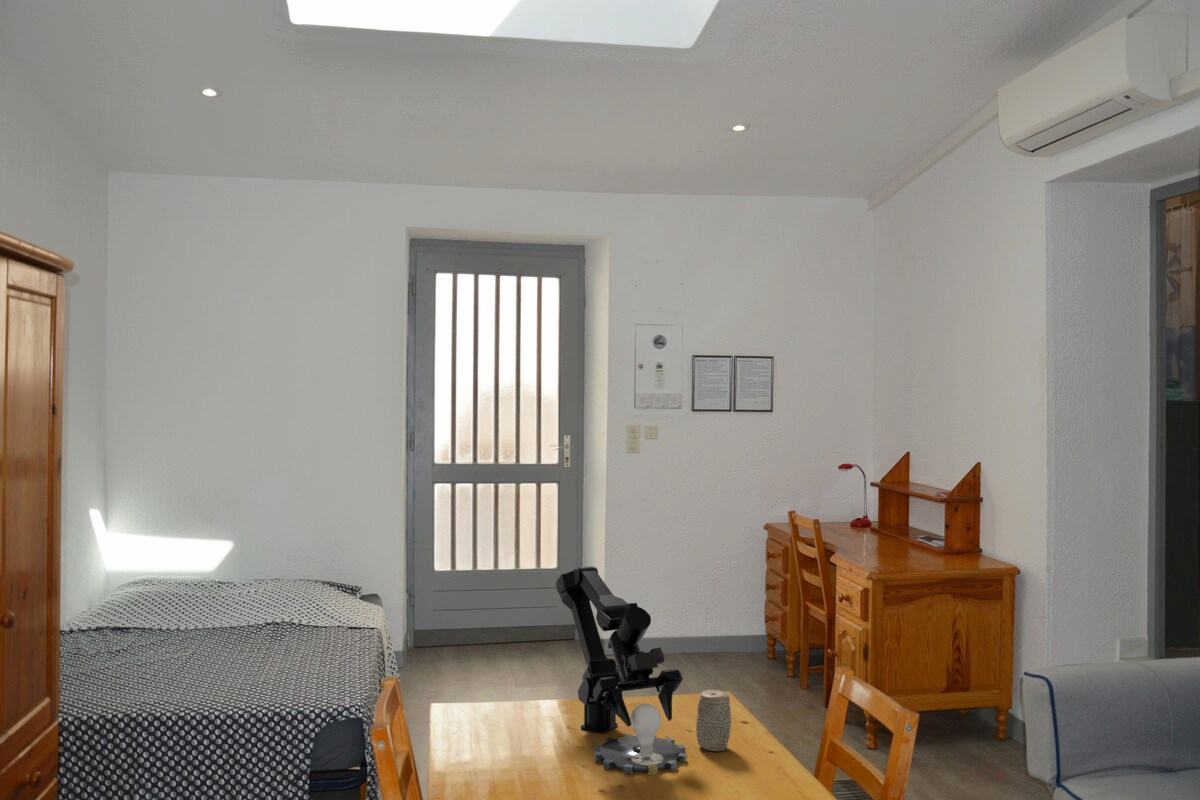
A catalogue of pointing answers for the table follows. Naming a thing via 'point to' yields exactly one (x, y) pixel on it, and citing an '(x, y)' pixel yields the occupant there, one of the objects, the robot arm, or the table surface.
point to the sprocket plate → (628, 758)
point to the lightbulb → (645, 727)
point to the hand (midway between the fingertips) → (650, 722)
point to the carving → (713, 720)
